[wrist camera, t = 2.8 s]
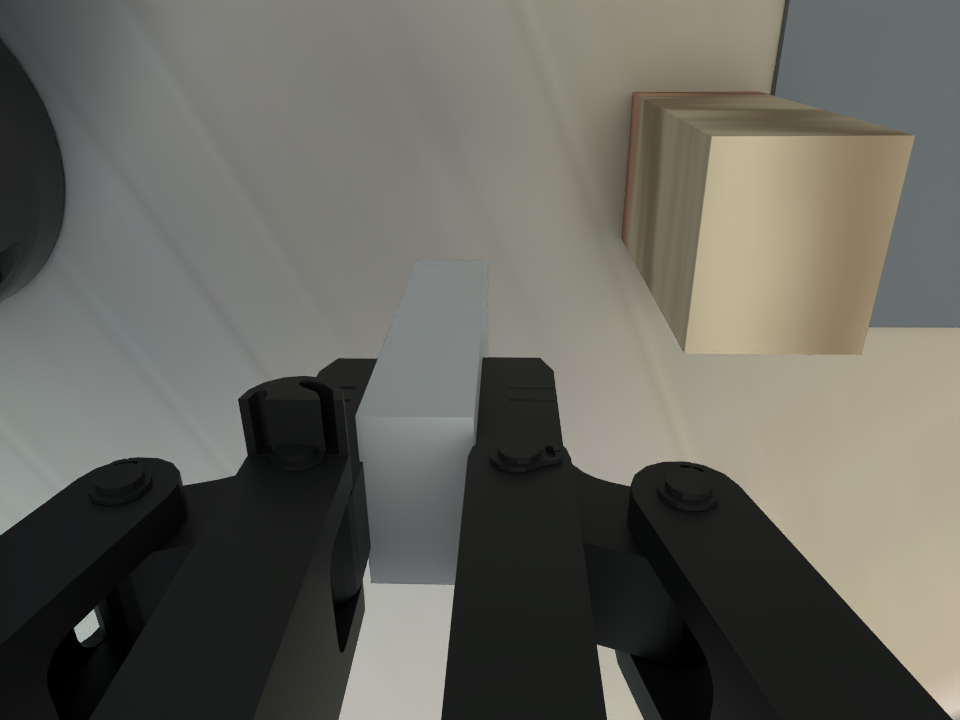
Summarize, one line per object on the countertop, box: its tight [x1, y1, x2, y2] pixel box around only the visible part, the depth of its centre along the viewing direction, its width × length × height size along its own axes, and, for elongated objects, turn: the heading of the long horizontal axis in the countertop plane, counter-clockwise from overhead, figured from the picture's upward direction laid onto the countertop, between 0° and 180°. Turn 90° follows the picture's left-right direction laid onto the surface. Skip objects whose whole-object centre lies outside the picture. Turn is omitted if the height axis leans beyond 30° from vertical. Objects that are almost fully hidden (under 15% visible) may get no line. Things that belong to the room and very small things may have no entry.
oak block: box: [622, 92, 915, 355], centre depth 24 cm, size 5×6×12 cm
